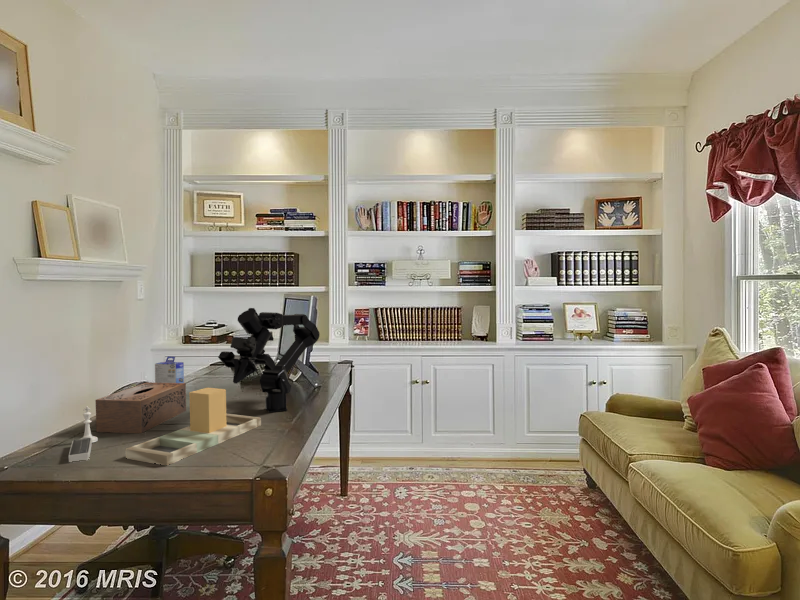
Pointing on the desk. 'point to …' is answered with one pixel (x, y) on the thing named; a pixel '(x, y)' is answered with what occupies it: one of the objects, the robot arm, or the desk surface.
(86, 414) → the chess piece
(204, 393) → the ochre block
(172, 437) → the trap board
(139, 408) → the tissue box cover
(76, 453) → the multiport hub
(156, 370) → the ink cartridge box
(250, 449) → the desk surface
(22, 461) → the desk surface
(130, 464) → the desk surface
